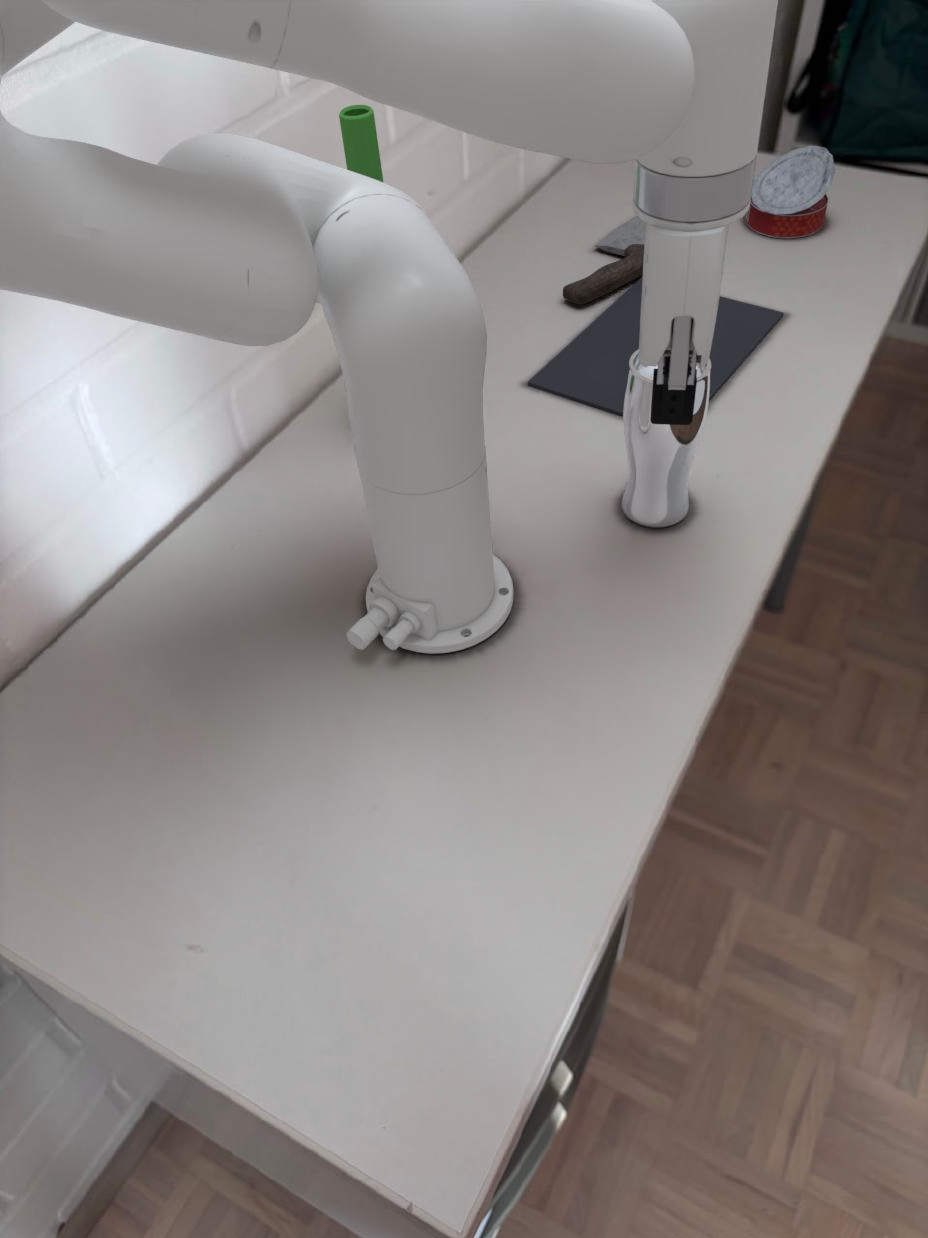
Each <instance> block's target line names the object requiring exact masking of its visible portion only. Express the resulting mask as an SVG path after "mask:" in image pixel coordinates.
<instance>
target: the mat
mask: <svg viewBox="0 0 928 1238" xmlns="http://www.w3.org/2000/svg"><path fill="white" fill-rule="evenodd" d="M641 298H642V277H639V279H638V280H637V281H635V283H634V284H633V285H632V286H630V288H628V289H627V290H626V291H625V292H623V294H622V295H620V296H619V297H618V298H617V300H615V301H614V302H613V303H612V304H611V305H609V306H608V308H606V309H605V310H604V311H603V312H602V313H601V314H600V315H599V316H597V318H595V320H594V321H592V322H591V323H590V324H589V325H588V326H587V327H586V328H585V329H583V330H582V331H581V332H580V333H579V334H578V335H577V336H576V337H575V338H574V339H573V340H572V341H571V342H570V343H568V344H567V345H566V346H564V348H562V349H561V351H560V352H558V354H555V356H554V357H553V358H551V360H550V361H548V363H546V364H545V365H544V366H543V367H542V368H541V369H540V370H539V371H537V373H536V374H534V376H532V377H531V378H530V379H529V380H528V381H527V386H530V387H532V388H535V389H539V390H542V391H545V392H548V393H550V394H554V395H556V396H560V397H563V398H566V399H569V400H572V401H575V402H578V403H581V404H585V405H587V406H589V407H594V408H596V409H600V410H603V411H606V412H608V413H612V414H614V415H618V416H621V417H623V407H624V396H625V388H626V381H627V375H628V369H629V360H630V357H631V356H632V354H633V353H634V352H635V351H637V350H638V349H639V337H640V316H641ZM783 317H784V312H783V311H779V310H775V309H771V308H767V307H763V306H759V305H755V304H752V303H748V302H744V301H740V300H736V299H732V298H729V297H723V296H720V297H719V303H718V310H717V316H716V322H715V328H714V334H713V340H712V345H711V351H710V356H709V358H710V361H711V370H710V391H709V401H710V400H711V399H712V398H713V397H714V396H715V394H717V392H718V391H719V390H720V389H721V388H722V387H723V385H724V384H725V383H726V382H727V381H728V380H729V379H730V377H731V376H733V374H734V373H735V371H736V370H738V368H739V367H740V366H741V365H742V364H743V362H744V361H745V360H746V359H747V358H748V357H749V356H750V354H751V353H752V352H753V351H754V350H755V349H756V348H757V346H758V345H759V344H760V343H761V342H762V340H763V339H765V337H766V336H767V334H768V333H769V332H770V331H771V330H772V329H773V328H774V327H775V326H776V325H777V324H778V323H779V321H780V320H781V318H783Z"/></svg>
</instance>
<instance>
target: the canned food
mask: <svg viewBox="0 0 928 1238" xmlns="http://www.w3.org/2000/svg"><path fill="white" fill-rule="evenodd" d="M833 155H834V154H832V153H830V151H829V150H828V148H826V147H824V146H820V145H819V146H818V145H808V146H804V147H797V148H795V149H792V150H790V151H788V152H786V153H785V154H781V155H780V156H778V157H776V158H775V159H774V160H772V161H771V162H770V163H769V164H768V165H766V166H764V167H763V168H762V169H761V170H760V172H759V173H758V174H757V176H756V177H754V180H753V187H752V194H751V201H750V207H749V210H748V212H747V213H746V214H745V220H744V222H745V224H746V226H747V227H748V229H750V230H751V231H753V232H755V233H757V234H759V235H761V236H765V237H769V238H774V239H785V240H786V239H787V240H788V239H799V238H805V237H809V236H811V235H814V234H816V233H818V232H819V231H820V230H821V229H822V228H823V226H824V223H825V218H826V213H827V209H828V204H829V196H828V195H827V193H828V191H829V189H830V188H831V187H832V185H833V181H834V176H835V172H836V167H835V163H834V156H833Z"/></svg>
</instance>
